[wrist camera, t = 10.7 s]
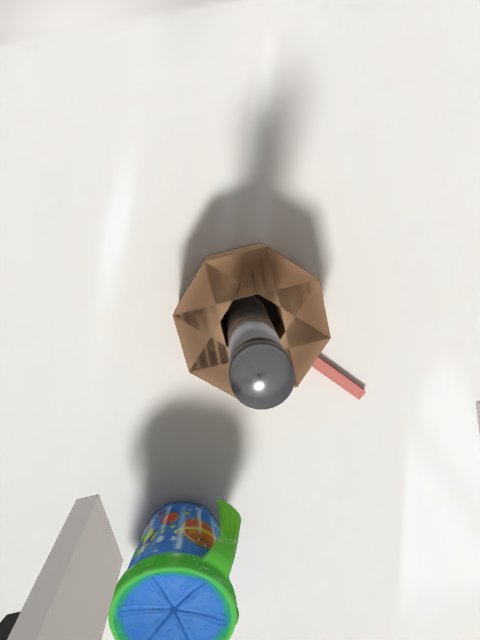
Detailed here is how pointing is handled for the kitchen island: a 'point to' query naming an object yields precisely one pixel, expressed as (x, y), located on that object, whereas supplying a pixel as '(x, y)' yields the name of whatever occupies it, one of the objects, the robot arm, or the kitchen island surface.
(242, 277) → the bead
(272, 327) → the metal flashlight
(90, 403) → the kitchen island surface
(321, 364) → the pink stick
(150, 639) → the snack cup
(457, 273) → the kitchen island surface
